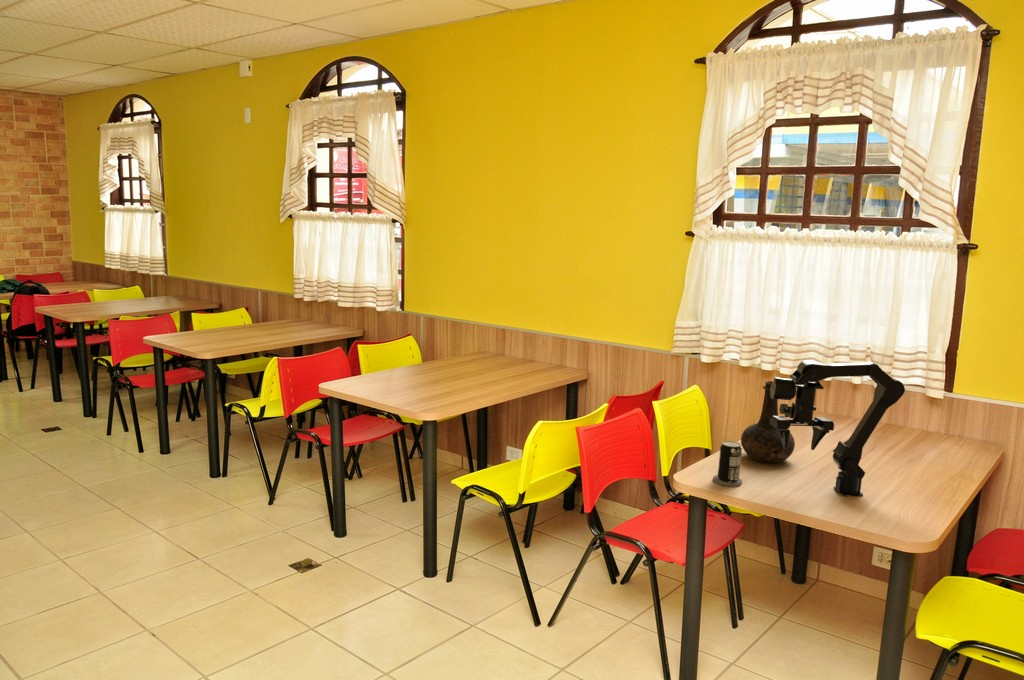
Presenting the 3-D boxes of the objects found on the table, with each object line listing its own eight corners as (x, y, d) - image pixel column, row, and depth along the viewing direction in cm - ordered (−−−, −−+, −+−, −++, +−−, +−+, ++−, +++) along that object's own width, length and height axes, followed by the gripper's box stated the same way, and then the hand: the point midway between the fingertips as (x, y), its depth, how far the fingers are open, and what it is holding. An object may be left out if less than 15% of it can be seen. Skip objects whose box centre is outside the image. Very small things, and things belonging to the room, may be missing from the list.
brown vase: (801, 460, 272) (809, 383, 267) (777, 471, 260) (786, 390, 255) (754, 448, 284) (762, 374, 280) (730, 457, 272) (737, 380, 267)
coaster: (735, 477, 252) (735, 474, 252) (746, 487, 244) (746, 484, 243) (708, 476, 251) (708, 474, 251) (718, 486, 243) (719, 484, 242)
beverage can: (719, 474, 252) (722, 439, 250) (740, 478, 249) (743, 442, 247) (715, 480, 246) (719, 444, 244) (737, 484, 243) (740, 448, 241)
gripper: (819, 395, 248) (813, 442, 251) (764, 394, 245) (759, 441, 248) (838, 404, 237) (831, 453, 240) (780, 403, 235) (774, 452, 237)
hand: (798, 449), depth 242 cm, fingers open, 9 cm apart
